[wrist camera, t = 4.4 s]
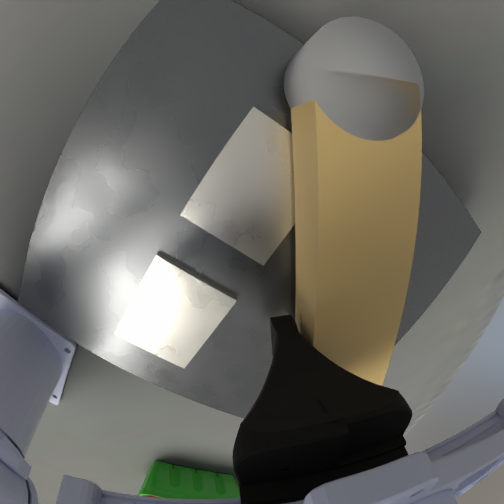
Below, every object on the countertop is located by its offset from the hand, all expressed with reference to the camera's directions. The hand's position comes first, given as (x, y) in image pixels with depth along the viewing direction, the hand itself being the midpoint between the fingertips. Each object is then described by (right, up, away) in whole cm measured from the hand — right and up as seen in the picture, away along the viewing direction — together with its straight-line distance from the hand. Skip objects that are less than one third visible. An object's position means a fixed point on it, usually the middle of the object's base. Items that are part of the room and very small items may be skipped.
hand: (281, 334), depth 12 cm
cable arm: (+2, +3, 0) cm, 4 cm away
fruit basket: (-9, -22, +13) cm, 27 cm away
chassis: (-1, +4, +3) cm, 5 cm away
